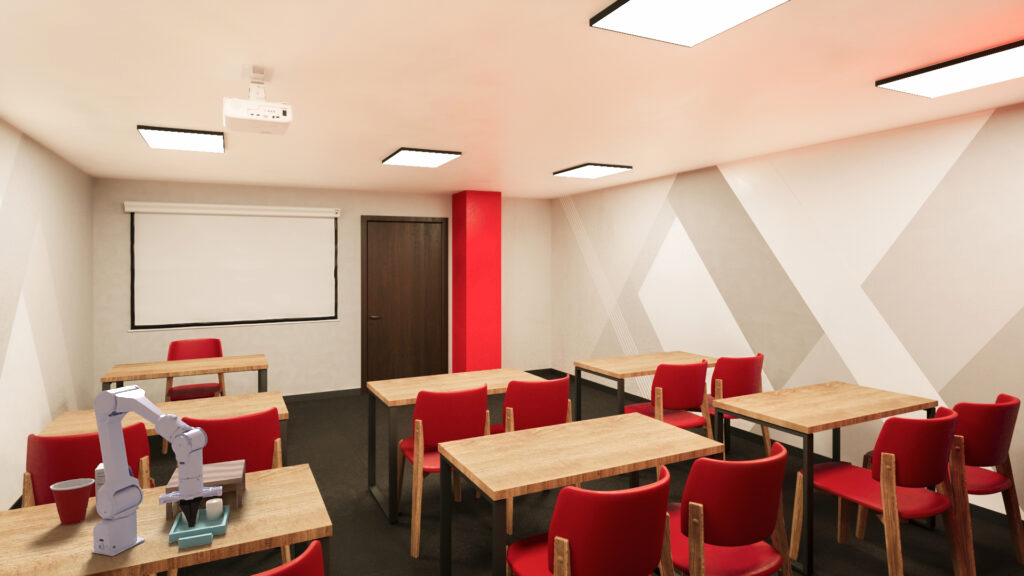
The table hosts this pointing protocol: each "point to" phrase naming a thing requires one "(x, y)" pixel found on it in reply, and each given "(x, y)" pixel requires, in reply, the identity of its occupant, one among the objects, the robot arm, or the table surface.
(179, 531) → the tray
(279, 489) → the table surface
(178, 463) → the robot arm
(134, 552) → the table surface
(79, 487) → the plastic cup
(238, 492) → the walnut shelf
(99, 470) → the supplement box
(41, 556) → the table surface
